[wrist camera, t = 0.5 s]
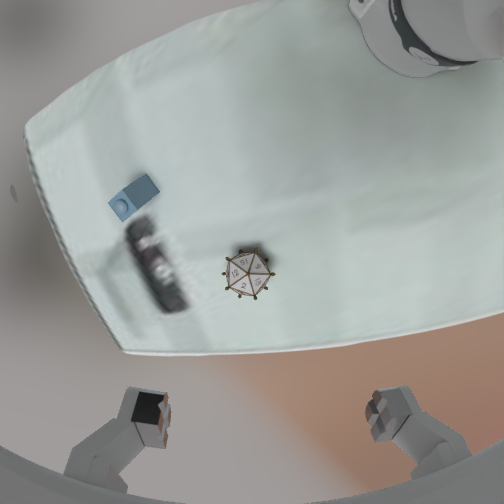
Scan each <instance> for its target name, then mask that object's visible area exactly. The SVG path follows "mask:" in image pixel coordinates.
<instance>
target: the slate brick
mask: <svg viewBox="0 0 504 504" xmlns="http://www.w3.org/2000/svg"><path fill="white" fill-rule="evenodd" d="M159 192H160V191H159V190H158V189H157V187H156V186H155V185H154V183H153V182H152V181H151V179H150V178H149V176H148V175H147V174H145V175H144V176H142V177H141V178H139V179H137V180H136V181H134V182H133V183H131V184H130V185H128V186H127V187H125V188H124V189H122V190H121V191H120V192H119V193H118V194H117V195H116V196H115V197H113V198H112V199H111V200H110V201H109V202H108V204H109V205H110V207H111V208H112V209H113V211H114V212H115V213H116V215H117V216H118V217H119V219H120V220H121V221H122V222H124V221H125V220H126V219H127V218H128V217H130V216H131V215H132V214H133V213H135V212H136V211H137V210H138V209H139V208H141V207H142V206H143V205H144V204H145V203H147V202H148V201H149V200H150V199H152V198H153V197H154V196H155V195H157V194H158V193H159Z"/></svg>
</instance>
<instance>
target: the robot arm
mask: <svg viewBox="0 0 504 504" xmlns="http://www.w3.org/2000/svg"><path fill="white" fill-rule="evenodd" d="M362 1H363V2H364V3H360V2H359V1H358V0H351V1H350V2H349V4H348V7H349V10H350V11H351V13H352V14H353V15H354V17H355V18H356V19H357V20H358V21H359V23H360V25H361V28H362V32H363V35H364V38H365V40H366V42H367V44H368V46H369V48H370V49H371V51H372V52H373V53H374V55H375V56H376V57H377V58H378V59H379V60H380V61H381V62H382V63H383V64H385V65H386V66H387V67H389V68H390V69H392V70H394V71H395V72H398V73H400V74H402V75H405V76H409V77H418V78H420V77H428V76H431V75H433V74H435V73H437V72H440V71H442V70H457V69H460V68H461V66H463V65H464V66H467V65H470V64H473V63H476V62H478V61H480V60H502V59H504V0H362ZM372 397H373V399H372V400H371V401H369V402H368V404H367V406H366V412H365V414H366V419H367V422H368V423H369V424H371V425H372V428H371V433H372V436H373V439H374V442H381V441H386V440H391V439H392V441H393V442H394V443H395V444H396V445H398V446H399V447H400V448H401V449H402V450H403V451H404V452H405V453H406V454H407V455H409V456H410V457H411V458H412V459H413V460H414V461H415V462H416V463H418V465H417V466H416V467H415V468H414V469H413V470H412V472H411V473H410V474H411V477H412V480H410V481H407V482H405V483H401V484H398V485H394V486H391V487H388V488H384V489H380V490H377V491H372V492H368V493H364V494H360V495H355V496H351V497H345V498H340V499H334V500H329V501H321V502H314V503H306V504H504V438H503V439H502V440H500V441H498V442H497V443H495V444H493V445H491V446H489V447H488V448H486V449H484V450H482V451H480V452H478V453H476V454H474V455H472V454H471V452H470V450H469V448H468V446H467V444H466V442H465V440H464V438H463V436H462V435H461V434H460V433H458V432H456V431H455V430H453V429H451V428H450V427H449V426H447V425H445V424H444V423H442V422H441V421H439V420H438V419H436V418H434V417H433V416H431V415H430V414H428V413H427V412H422V410H421V408H420V406H419V404H418V402H417V400H416V398H415V396H414V395H413V393H412V391H411V389H410V387H409V386H408V385H404V386H398V387H391V388H385V389H379V390H376V391H374V393H373V395H372ZM167 402H168V394H167V392H160V391H153V390H147V389H141V388H135V387H128V388H127V390H126V392H125V395H124V398H123V401H122V404H121V407H120V410H119V413H118V417H117V419H114V418H113V419H112V420H110V421H109V422H108V423H106V424H105V425H104V426H102V427H101V428H100V429H98V430H97V431H95V432H94V433H93V434H91V435H90V436H89V437H87V438H86V439H84V440H83V441H82V442H80V443H79V444H78V445H76V446H75V447H73V448H72V451H71V454H70V457H69V459H68V462H67V465H66V468H65V471H64V474H60V473H58V472H55V471H53V470H50V469H48V468H45V467H43V466H40V465H38V464H36V463H34V462H31V461H29V460H27V459H25V458H23V457H21V456H19V455H17V454H15V453H13V452H11V451H9V450H7V449H5V448H4V447H2V446H0V504H184V503H175V502H168V501H162V500H156V499H150V498H144V497H139V496H135V495H130V494H127V488H128V486H127V484H126V483H125V482H124V480H123V479H122V478H121V477H120V475H119V473H120V472H121V471H122V470H123V469H124V468H125V467H126V466H127V465H128V464H129V463H130V462H131V461H132V460H133V459H134V458H135V457H136V456H137V455H138V454H139V453H140V452H141V451H142V450H143V449H144V446H147V447H153V448H161V449H166V444H167V438H168V434H167V430H166V429H167V428H168V427H169V426H170V420H171V419H170V418H171V408H170V404H168V403H167Z"/></svg>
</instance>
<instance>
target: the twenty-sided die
mask: <svg viewBox="0 0 504 504" xmlns="http://www.w3.org/2000/svg"><path fill="white" fill-rule="evenodd" d="M257 250H258V249H257V248H255V250H254V252H249V253H242V251H241V250H239V253H240V254H239V255H237V256H235V257H233V258H232V259H229V258H228V257H226V260H227V261H229V263H228V266H227V270H226V273H225V272H223V273H222V275H226V278H227V282H228V287H225V290H229V288H231V289H232V290H234V291H235V292H237V293H238V294H239V296H238V297H239V298H241V295H248V296H254V300H257V297H256V295H257V294H258V293H259V292H260V291H261V290H262V289H263V288H264V289H265V290H268V287H266V284H267V282H268V280H269V278H270V276H271V275H272V276H274V275H276V274H275V273H270V271H269V269H268V267H267V265H266V262H268V259H266V260H265V261H264V260H263V259H262V258H261V257H260V256H259V255H258V254H257V253H256V252H257Z"/></svg>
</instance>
